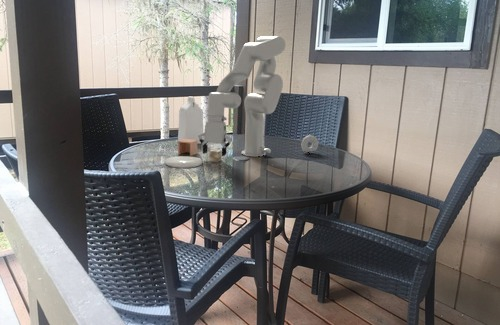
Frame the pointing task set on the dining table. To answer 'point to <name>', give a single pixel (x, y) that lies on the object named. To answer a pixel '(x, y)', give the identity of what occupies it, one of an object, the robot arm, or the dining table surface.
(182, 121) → the milk
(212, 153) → the block
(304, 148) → the donut
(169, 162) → the plate
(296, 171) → the dining table surface
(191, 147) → the cover
